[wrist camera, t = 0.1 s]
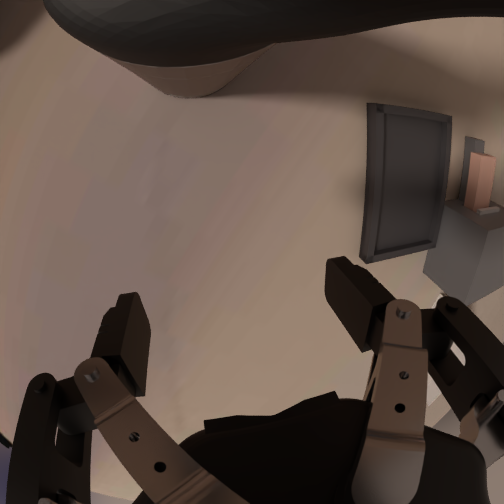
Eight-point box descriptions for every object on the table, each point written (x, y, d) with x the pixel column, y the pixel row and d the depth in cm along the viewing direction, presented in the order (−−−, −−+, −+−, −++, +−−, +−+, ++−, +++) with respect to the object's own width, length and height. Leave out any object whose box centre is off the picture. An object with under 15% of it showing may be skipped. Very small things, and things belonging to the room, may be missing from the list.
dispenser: (444, 132, 28) (502, 150, 19) (490, 141, 30) (536, 158, 21) (422, 272, 39) (461, 308, 30) (469, 256, 40) (504, 284, 32)
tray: (366, 102, 25) (376, 103, 23) (442, 114, 26) (451, 116, 25) (359, 257, 34) (366, 264, 32) (428, 242, 36) (435, 247, 34)
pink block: (470, 151, 28) (481, 155, 26) (486, 154, 28) (496, 157, 27) (456, 240, 34) (464, 246, 33) (472, 236, 35) (480, 241, 33)
